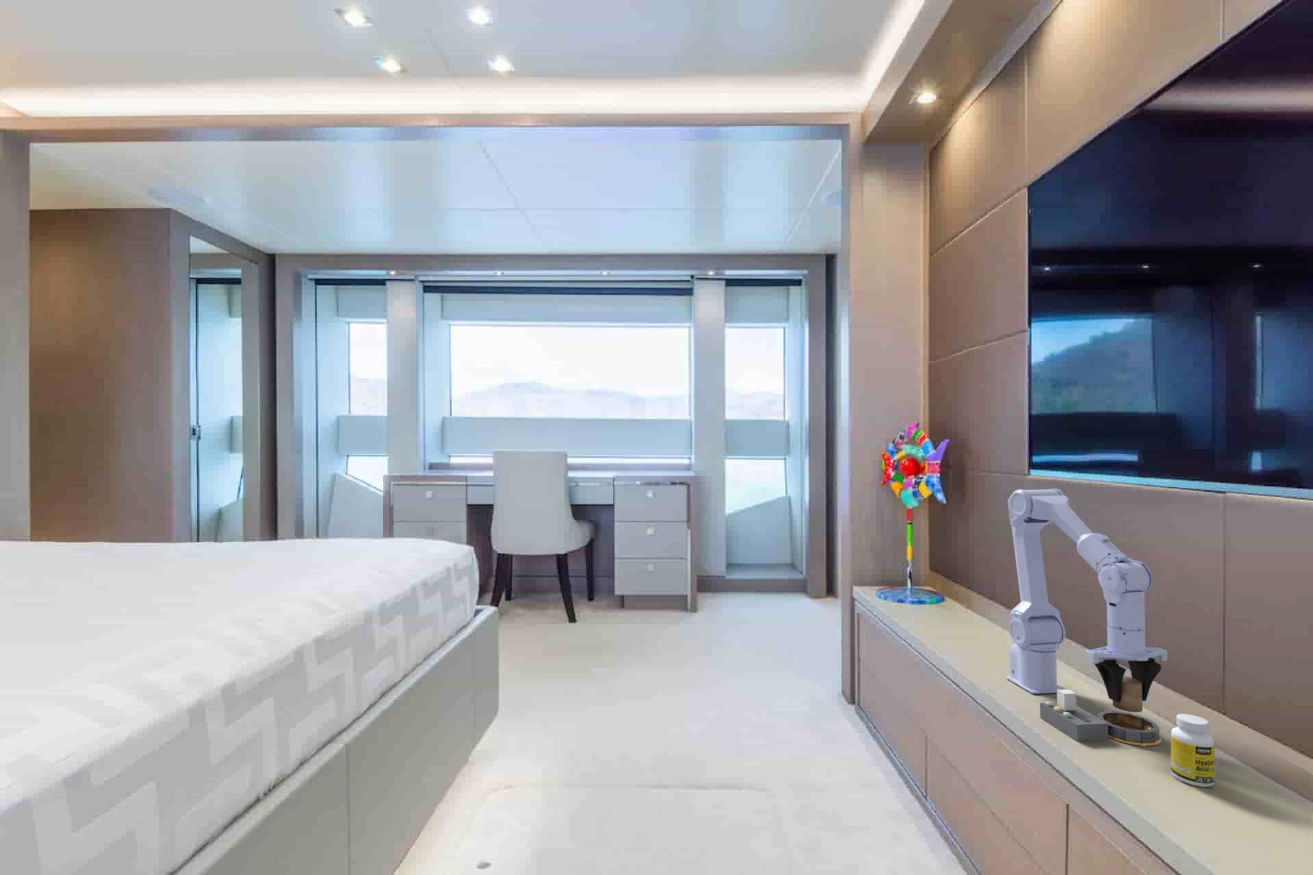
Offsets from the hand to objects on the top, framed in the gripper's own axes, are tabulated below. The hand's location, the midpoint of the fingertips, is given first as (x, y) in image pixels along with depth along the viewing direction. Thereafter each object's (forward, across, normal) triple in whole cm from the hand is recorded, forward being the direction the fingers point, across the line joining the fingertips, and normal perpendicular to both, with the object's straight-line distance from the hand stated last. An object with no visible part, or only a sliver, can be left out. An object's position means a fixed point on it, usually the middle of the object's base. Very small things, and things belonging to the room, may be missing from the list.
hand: (1127, 699), depth 119 cm
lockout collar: (+6, 0, 0) cm, 6 cm away
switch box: (+6, -8, +3) cm, 11 cm away
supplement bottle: (+7, -2, -16) cm, 17 cm away
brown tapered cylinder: (+1, 0, 0) cm, 1 cm away
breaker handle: (+3, -8, +5) cm, 10 cm away
